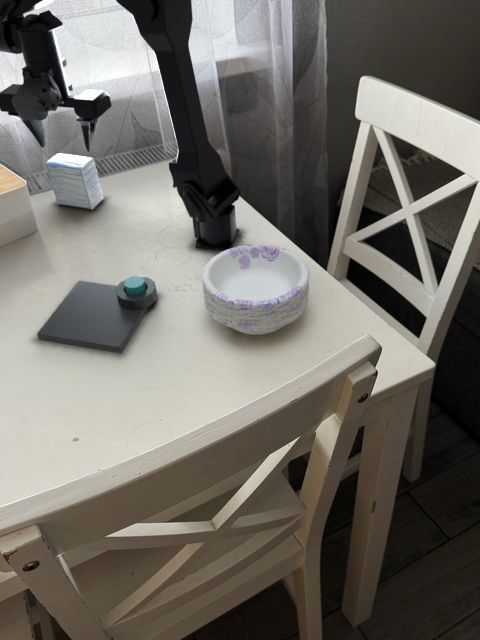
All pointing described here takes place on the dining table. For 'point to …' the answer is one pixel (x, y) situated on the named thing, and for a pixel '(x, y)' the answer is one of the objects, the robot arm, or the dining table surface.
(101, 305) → the scale
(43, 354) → the dining table surface
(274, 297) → the paper bowls
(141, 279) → the tare button
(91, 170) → the medicine box
